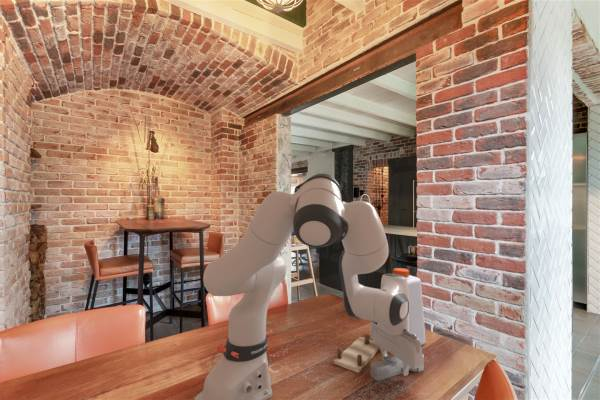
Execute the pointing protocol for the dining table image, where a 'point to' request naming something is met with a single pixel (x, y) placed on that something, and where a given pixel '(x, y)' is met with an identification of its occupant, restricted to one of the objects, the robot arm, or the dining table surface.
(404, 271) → the plastic bottle
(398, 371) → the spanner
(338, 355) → the peg board
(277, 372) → the dining table surface
